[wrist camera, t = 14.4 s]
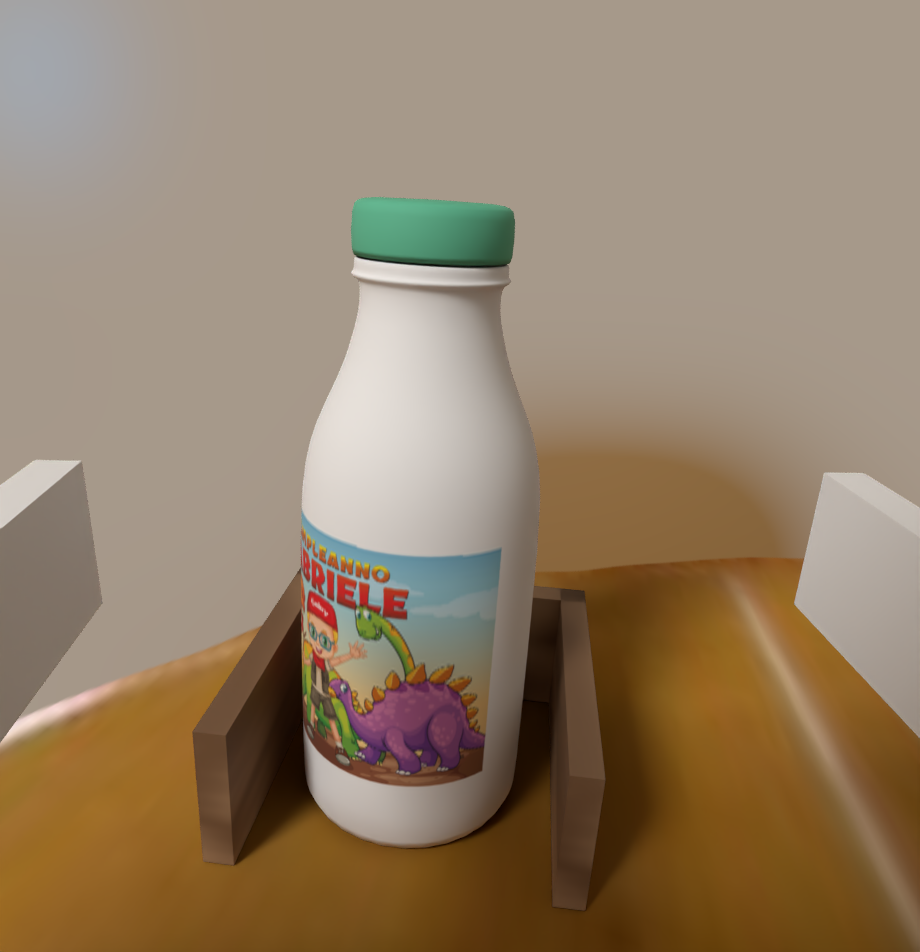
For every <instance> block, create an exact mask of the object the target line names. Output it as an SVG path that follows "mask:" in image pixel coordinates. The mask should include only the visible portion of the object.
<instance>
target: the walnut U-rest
mask: <svg viewBox="0 0 920 952" xmlns="http://www.w3.org/2000/svg"><path fill="white" fill-rule="evenodd" d="M523 700H529V701H538V702H548V703H549V734H550V795H551V855H552V907H559V908H567V909H575V910H582V911H585V910H586V903H587V897H588V890H589V884H590V878H591V871H592V865H593V858H594V852H595V845H596V839H597V832H598V826H599V819H600V813H601V806H602V800H603V793H604V787H605V780H606V779H605V771H604V762H603V753H602V744H601V735H600V726H599V717H598V708H597V700H596V691H595V682H594V673H593V664H592V655H591V646H590V637H589V628H588V620H587V611H586V602H585V593H584V591H581V590H571V589H560V588H550V587H540V586H534V589H533V600H532V611H531V622H530V632H529V642H528V652H527V662H526V672H525V682H524V691H523ZM302 717H303V687H302V625H301V568H300V570H299V571H298V573H297V574H296V576H295V577H294V579H293V580H292V582H291V583H290V585H289V586H288V588H287V589H286V591H285V592H284V594H283V595H282V597H281V598H280V600H279V601H278V603H277V605H276V606H275V607H274V609H273V610H272V612H271V613H270V615H269V617H268V618H267V620H266V621H265V623H264V624H263V626H262V627H261V629H260V630H259V632H258V633H257V635H256V636H255V638H254V639H253V641H252V642H251V644H250V645H249V647H248V648H247V650H246V651H245V653H244V654H243V656H242V657H241V659H240V661H239V662H238V664H237V665H236V667H235V668H234V670H233V671H232V673H231V674H230V676H229V677H228V679H227V680H226V682H225V683H224V685H223V686H222V688H221V689H220V691H219V692H218V694H217V695H216V697H215V698H214V700H213V701H212V703H211V704H210V706H209V708H208V709H207V711H206V712H205V714H204V715H203V717H202V718H201V720H200V721H199V723H198V724H197V726H196V727H195V729H194V730H193V744H194V756H195V768H196V780H197V792H198V804H199V816H200V828H201V841H202V853H203V861H204V862H212V863H220V864H227V865H234V864H235V862H236V860H237V858H238V856H239V853H240V851H241V849H242V847H243V845H244V843H245V840H246V838H247V836H248V834H249V832H250V830H251V828H252V825H253V823H254V821H255V819H256V817H257V815H258V812H259V810H260V808H261V806H262V804H263V802H264V799H265V797H266V795H267V793H268V791H269V789H270V787H271V784H272V782H273V780H274V778H275V776H276V774H277V771H278V769H279V767H280V765H281V763H282V761H283V758H284V756H285V754H286V752H287V750H288V748H289V746H290V743H291V741H292V739H293V737H294V735H295V733H296V730H297V728H298V726H299V724H300V722H301V720H302Z"/></svg>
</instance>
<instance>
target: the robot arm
mask: <svg viewBox="0 0 920 952" xmlns="http://www.w3.org/2000/svg"><path fill="white" fill-rule="evenodd" d="M101 604H102V596H101V590H100V583H99V576H98V569H97V562H96V555H95V548H94V542H93V534H92V528H91V522H90V514H89V508H88V500H87V494H86V486H85V479H84V473H83V466H82V461H64V460H34V461H33V462H31V463H30V464H29V465H27V466H26V467H25V468H23V469H22V470H21V471H19V472H18V473H16V474H15V475H14V476H12V477H11V478H10V479H8V480H7V481H5V482H4V483H3V484H1V485H0V742H1V741H2V740H3V738H4V737H5V736H6V734H7V733H8V731H9V730H10V729H11V727H12V726H13V725H14V723H15V722H16V720H17V719H18V718H19V716H20V715H21V714H22V712H23V711H24V710H25V708H26V707H27V705H28V704H29V703H30V701H31V700H32V699H33V697H34V696H35V695H36V693H37V692H38V690H39V689H40V688H41V686H42V685H43V684H44V682H45V681H46V679H47V678H48V677H49V675H50V674H51V673H52V671H53V670H54V668H55V667H56V666H57V664H58V663H59V662H60V660H61V659H62V657H63V656H64V655H65V653H66V652H67V651H68V649H69V648H70V647H71V645H72V644H73V643H74V641H75V640H76V638H77V637H78V636H79V634H80V633H81V632H82V630H83V629H84V628H85V626H86V625H87V623H88V622H89V621H90V619H91V618H92V616H93V615H94V613H95V612H96V611H97V610H98V608H99V607H100V606H101ZM794 604H795V606H796V607H797V608H798V609H799V610H800V611H801V612H802V613H803V614H804V615H805V616H806V617H807V618H808V619H809V620H810V622H811V623H812V624H813V625H814V626H815V627H816V628H817V629H818V630H819V631H820V632H821V633H822V634H823V635H824V636H825V638H826V639H827V640H828V641H829V642H830V643H831V644H832V645H833V646H834V647H835V648H836V649H837V650H838V651H839V652H840V654H841V655H842V656H843V657H844V658H845V659H846V660H847V661H848V662H849V663H850V664H851V665H852V666H853V667H854V669H855V670H856V671H857V672H858V673H859V674H860V675H861V676H862V677H863V678H864V679H865V680H866V681H867V682H868V683H869V685H870V686H871V687H872V688H873V689H874V690H875V691H876V692H877V693H878V694H879V695H880V696H881V697H882V698H883V699H884V701H885V702H886V703H887V704H888V705H889V706H890V707H891V708H892V709H893V710H894V711H895V712H896V713H897V714H898V715H899V717H900V718H901V719H902V720H903V721H904V722H905V723H906V724H907V725H908V726H909V727H910V728H911V729H912V730H913V731H914V733H915V734H916V735H917V736H918V737H919V738H920V508H919V507H918V506H916V505H915V504H913V503H911V502H910V501H908V500H906V499H905V498H903V497H902V496H900V495H898V494H897V493H895V492H894V491H892V490H890V489H889V488H887V487H885V486H884V485H882V484H881V483H879V482H877V481H876V480H874V479H872V478H871V477H869V476H868V475H866V474H864V473H824V476H823V480H822V484H821V489H820V493H819V498H818V502H817V506H816V511H815V515H814V519H813V524H812V528H811V532H810V537H809V542H808V546H807V550H806V554H805V559H804V563H803V567H802V572H801V576H800V581H799V585H798V589H797V594H796V598H795V602H794Z"/></svg>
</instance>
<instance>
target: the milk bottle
mask: <svg viewBox="0 0 920 952" xmlns="http://www.w3.org/2000/svg"><path fill="white" fill-rule="evenodd" d="M514 233H515V219H514V213H513V211H512V210H511V209H510V208H507V207H505V206H500V205H493V204H483V203H468V202H457V201H444V200H443V201H442V200H428V199H406V198H383V197H371V198H362V199H359V200H357V201H356V202H355V203H354V207H353V211H352V226H351V234H352V250H353V253H354V255H356V257H355V258H354V269H353V270H352V271H351V273H352V275H353V276H354V277H356V278H357V279H358V282H359V287H360V300H359V309H358V315H357V319H356V323H355V327H354V331H353V334H352V338H351V342H350V345H349V347H348V350H347V353H346V357H345V359H344V362H343V364H342V367H341V369H340V372H339V374H338V377H337V379H336V381H335V383H334V385H333V387H332V389H331V391H330V393H329V396H328V398H327V400H326V402H325V404H324V406H323V408H322V411H321V413H320V415H319V418H318V420H317V422H316V425H315V428H314V431H313V434H312V438H311V441H310V445H309V449H308V454H307V458H306V464H305V472H304V481H303V489H302V519H301V625H302V687H303V737H304V760H305V775H306V780H307V785H308V787H309V790H310V792H311V794H312V796H313V798H314V799H315V801H316V803H317V804H318V806H319V807H320V808H321V810H322V811H323V812H324V813H325V814H326V816H327V817H328V818H329V820H331V821H332V822H333V823H335V824H336V825H337V826H339V827H340V828H341V829H342V830H343V831H345V832H347V833H350V834H352V835H354V836H356V837H357V838H359V839H361V840H364V841H368V842H372V843H375V844H378V845H381V846H390V847H397V848H426V847H430V846H435V845H440V844H446V843H449V842H451V841H454V840H456V839H459V838H462V837H465V836H467V835H468V834H470V833H471V832H473V831H474V830H476V829H478V828H480V827H481V826H482V825H483V824H484V823H485V822H486V821H487V820H489V819H490V818H491V817H492V816H493V815H494V814H495V813H496V811H497V810H498V808H499V807H500V806H501V804H502V803H503V802H504V800H505V799H506V797H507V795H508V793H509V791H510V789H511V786H512V782H513V778H514V771H515V765H516V758H517V749H518V739H519V730H520V720H521V711H522V701H523V691H524V682H525V672H526V662H527V652H528V642H529V632H530V622H531V611H532V600H533V589H534V578H535V567H536V556H537V543H538V526H539V509H540V483H539V468H538V460H537V453H536V448H535V443H534V439H533V435H532V431H531V428H530V424H529V421H528V418H527V416H526V412H525V410H524V407H523V404H522V402H521V399H520V396H519V394H518V390H517V388H516V385H515V382H514V379H513V375H512V372H511V369H510V365H509V361H508V357H507V353H506V348H505V343H504V338H503V332H502V325H501V316H500V302H501V295H502V291H503V289H504V287H505V286H507V285H509V283H510V282H511V280H510V279H509V266H508V265H507V264H509V263H510V262H511V259H512V255H513V245H514Z"/></svg>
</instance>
